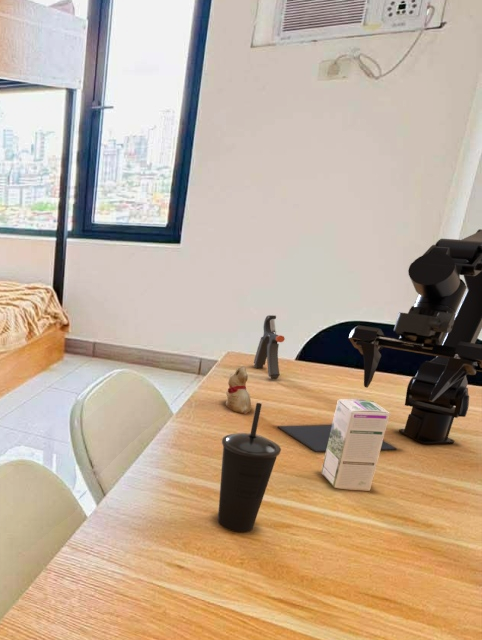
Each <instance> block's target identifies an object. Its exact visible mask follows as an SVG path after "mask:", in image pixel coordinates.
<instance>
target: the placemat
mask: <svg viewBox="0 0 482 640" xmlns="http://www.w3.org/2000/svg"><path fill="white" fill-rule="evenodd" d="M331 427H332V424H315V425H313V424H311V425H277V429H279V430H280V431H282V432H284V433H285V434H287V435H288V436H290V437H291V438H293V439H295V440H296V441H298V443H300V444H302V445H304V446H305V447H307V448H309V449H310V450H312V451H313V452H314V453H326V449H327V445H328V441H329V436H330V432H331ZM380 451H397V447H395V446H393V445H391V444H389V443H388V442H386V441H384V440H383V442H382V446H381V450H380Z"/></svg>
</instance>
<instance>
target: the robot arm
mask: <svg viewBox="0 0 482 640" xmlns="http://www.w3.org/2000/svg"><path fill="white" fill-rule="evenodd" d="M407 271H408V276H409V279H410V281H411V283H412V286H413V288H414V290H415V292H416V293H417V296H416V299H415V301H414V303H413V305H412V306H411V307H410V308H409V310H408V312H399V311H398V315H397V318H396V320H395V324H394V328H393V332H395V334H396V335H397V336H399V337H395V336H389V335H385V334H384V332H383V331H382V329H381V328H378V327H372V326H366V325H359V324H358V325H357V326H355V327H354V328H352V329H351V331H350V333H349V336H348V340H349V341H350V343H351V345H352V346H353V347H354V348H355V349H357V350H358V352H359V353H360V354H361V355H362V356H363V386H364V388H367V389H368V388H369V386H370V384H371V383H372V382H373V379H374V377H375V373H376V370H377V368H378V365H379V362H380V361H381V357H382V353H380V351H382V350H383V348H388V349H392V350H393V349H394V350H399V351H406V352H409V353H411V352H412V353H415V354H423V355H428V356H434V358H433V359H430V361H429V360H425V361H423V362H422V363H421V364H420V366H419V369H418V370H417V373H416V374H415V376H412V377H411V378H410V379H409V382H408V384H407V388H406V394H405V401H404V406H405V407H411V410H410V413H409V414H408V415H407V419H406V423H405V427H404V428H399V429H398V432H399V433H400V434H402V435H404V436H406V437H408V438H410V439H412V440H414V441H416V442H418V443H420V444H422V445H440V444H443V445H444V444H447V445H448V444H455V440H454V439H452V438H450V437H449V436H450V432H451V429H452V426H453V423H454V420H455V418H456V419H457V418H459V417H460V418H461V417H462V418H465V417H467V415H468V410H469V406H470V395H469V387H468V385H469V382H468V378H467V375H469V376H475V375H476V374H477V372H480V373H482V344H480V343H476V342H477V340H478V338H479V335H480V333H481V331H482V229H481V228H480V229H478V230H477V231H476V232H475V233H473V234H470V235H468V236H466V237H464V238H462V239H454V238H440V239H438V240H437V241H436V242H435V244H432V245H431V246H430V247H429V248H428V249H427V250H426V251H425V252H424V253H423V254H422V255H420V256H419V257H417V258H416V259H414V260H413V262H411V263H410V265H409V267H408V270H407ZM461 276H463V278H464V280H463V279H462V278H460V277H461Z"/></svg>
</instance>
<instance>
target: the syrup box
mask: <svg viewBox="0 0 482 640" xmlns="http://www.w3.org/2000/svg"><path fill="white" fill-rule="evenodd" d="M389 417H390V412H389V411H388V410H387V409H385V408H384V407H382V406H381V405H379V404H378V403H377V402H376V401H374V400H371V399H370V400H369V399H359V398H343V399H340V398H339V399H337V402H336V406H335V411H334V415H333V418H332V423H331V425H332V427H331V432H330V436H329V441H328V445H327V449H326V452H325V454H324V459H323V463H322V467H321V471H320V474H321V475H322V476H323V477H324V478H325V479H326V480H327V482H328V483H329V484H330V485H331V486H332V487H333V488H335V489H340V490H351V491H364V492H365V491H368V492H370V491H371V488H372V484H373V480H374V476H375V473H376V469H377V465H378V461H379V457H380V453H381V451H382V450H381V446H382V442H383V441H384V437H385V434H386V429H387V425H388V423H389Z"/></svg>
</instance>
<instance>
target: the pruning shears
mask: <svg viewBox="0 0 482 640" xmlns="http://www.w3.org/2000/svg"><path fill="white" fill-rule="evenodd" d="M276 318H277V315H273V314H272V315H270V314H269V315H267V316H266V317H265V318H264V322H263V335H262V336H261V337H260V338H259V339H260V340H259V343H258V346H257V349H256V352H255V356H254V360H253V364H254V368H256V369H263V368H264V366H265V365H266V363H267V373H268V377H270V380H278V378H280V375H281V374H280V366H279V347H280V344H279V343H283V342H284V341H285V336H284V335H281V334H280V335H279V334H277V331H276V323H275V320H276Z"/></svg>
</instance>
